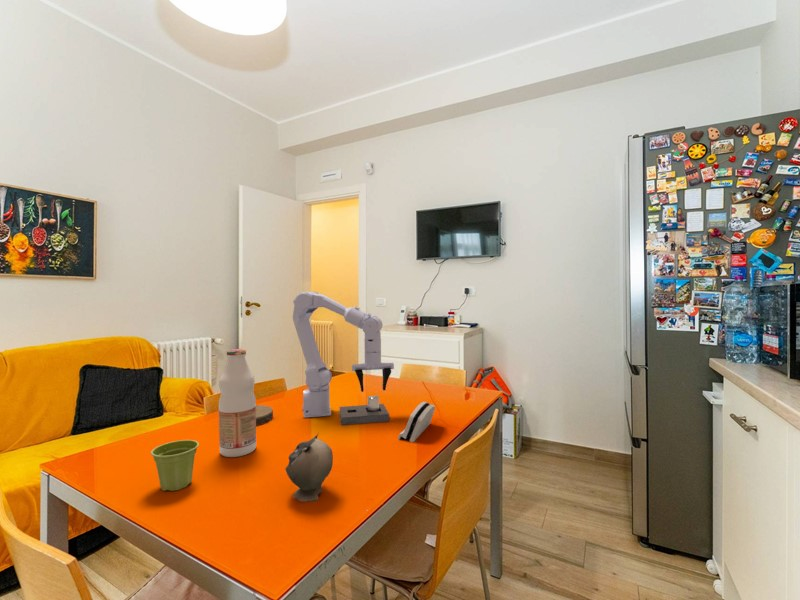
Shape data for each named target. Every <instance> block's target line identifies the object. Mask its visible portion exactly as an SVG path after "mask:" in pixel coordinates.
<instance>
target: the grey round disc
mask: <svg viewBox="0 0 800 600" xmlns="http://www.w3.org/2000/svg"><path fill="white" fill-rule="evenodd" d="M273 410H274V409H273V407H271V406H268V405H263V404H256V427H258V426H261V425H264V424H266V423H269V422H270V421H271V420H273V418H274V412H273Z"/></svg>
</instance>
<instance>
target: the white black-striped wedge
mask: <svg viewBox="0 0 800 600" xmlns="http://www.w3.org/2000/svg"><path fill="white" fill-rule="evenodd" d="M435 410H436V406H435V405H434V404H431V403H430V402H427V401H422V402H421V403H419V404H418V405H417V406H416V407H415V409H413V411H412V413H411V414H410V416H409V418H408V421H407V423H406V426H405V428H404V430H403V431H401V432H400V433H399V434H398V438H397V441H399V440H401V439H402V438H403V439H405V440H406V439H408V440H409V442H410V443H414V442H416V440H417V439H418V438H419V437H420V436H421V434H423V432H424V431H425V430H426V429H427V428H428V427H429V425H430V424H431V423H432V419H433V416H434V413H435Z"/></svg>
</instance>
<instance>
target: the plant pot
mask: <svg viewBox="0 0 800 600" xmlns="http://www.w3.org/2000/svg"><path fill="white" fill-rule="evenodd" d="M199 445H200V444H199V441H197V440H194V439H193V440H192V439H181V440H175V441H174V440H173V441H170V442H166V443H163V444H160V445H158V446H156V447H154V448H153V449H152V450H151V451H150V455H151V456H152V457H153V460H154V462H155V465H156V470H157V476H158V480H159V485H160V489H161V490H162V491H164V492H165V491H171V492H174V491H178V490H181V489H184V488H186V487H187V486H188V485H189V484H191V483H192V481H193V480H192V479H193V472H194V464H195V456H196V452H197V448H198V447H199Z"/></svg>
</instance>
